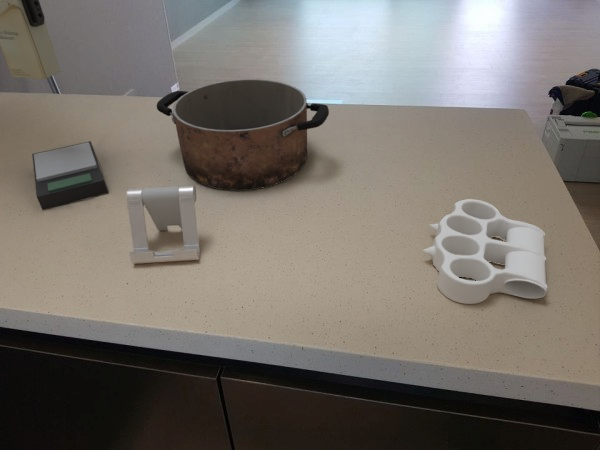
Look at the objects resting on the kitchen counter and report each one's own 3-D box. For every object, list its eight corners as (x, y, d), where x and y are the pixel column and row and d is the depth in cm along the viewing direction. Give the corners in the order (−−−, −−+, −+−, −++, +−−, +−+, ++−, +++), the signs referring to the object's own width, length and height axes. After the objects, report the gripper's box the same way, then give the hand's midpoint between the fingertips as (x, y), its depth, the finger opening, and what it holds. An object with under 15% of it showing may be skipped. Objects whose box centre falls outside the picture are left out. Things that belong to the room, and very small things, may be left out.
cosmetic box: (11, 78, 72) (-23, -7, 65) (31, 69, 76) (0, -12, 68) (45, 80, 71) (14, -6, 64) (63, 71, 74) (35, -12, 67)
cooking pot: (340, 140, 88) (342, 86, 81) (308, 204, 71) (307, 141, 64) (200, 124, 95) (191, 73, 89) (140, 178, 78) (124, 120, 72)
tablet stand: (133, 267, 60) (116, 215, 55) (145, 230, 66) (130, 181, 61) (198, 262, 60) (187, 211, 55) (204, 227, 67) (195, 178, 62)
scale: (37, 166, 83) (30, 150, 81) (94, 152, 86) (89, 137, 84) (42, 210, 71) (35, 193, 69) (108, 192, 75) (103, 176, 73)
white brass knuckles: (542, 324, 51) (410, 291, 55) (539, 231, 64) (433, 210, 68) (551, 303, 49) (414, 271, 53) (546, 211, 62) (436, 191, 66)
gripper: (-102, -111, 58) (-39, 29, 68) (-11, -115, 54) (41, 33, 64) (-51, -112, 63) (0, 17, 73) (34, -116, 60) (75, 20, 70)
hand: (19, 24), depth 69 cm, fingers closed on cosmetic box, 6 cm apart
